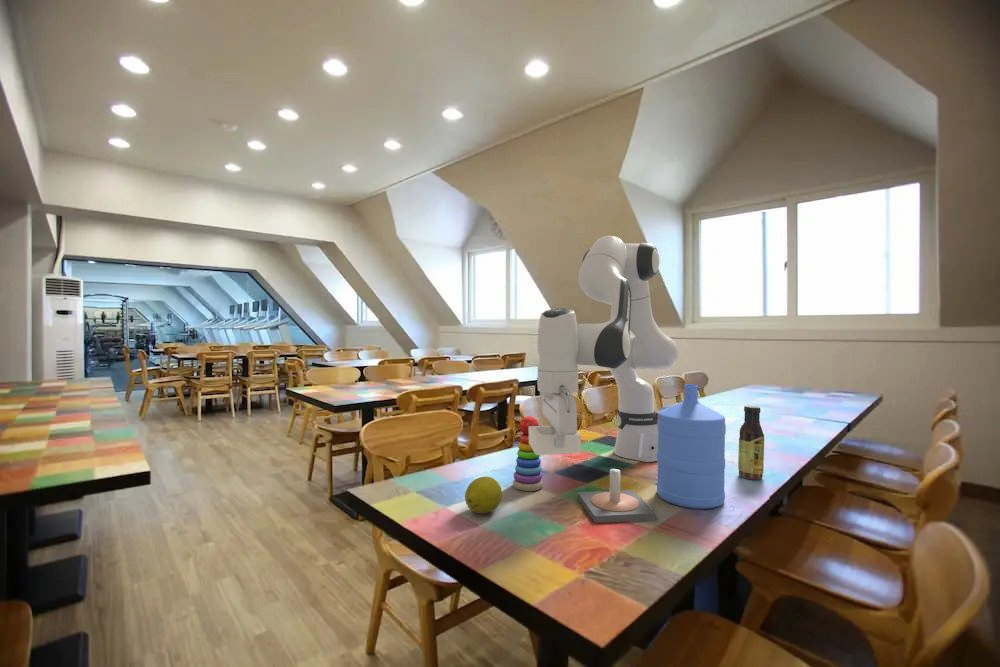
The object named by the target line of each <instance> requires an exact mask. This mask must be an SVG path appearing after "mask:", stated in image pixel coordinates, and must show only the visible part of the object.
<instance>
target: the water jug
mask: <svg viewBox="0 0 1000 667" xmlns="http://www.w3.org/2000/svg"><path fill="white" fill-rule="evenodd" d="M683 386H684V392H683V394H684V399H683V401H682V402H678V403H677V404H674V405H672V406H669V407H666V408H663V409H662V410H659V412H657V413H658V422H657V427H658V451H657V461H656V462H657V483H656V493H657V495H658V496H659V497H660V498H661V499H663V500H664V501H665V502H668V503H670V504H673V505H675V506H678V507H683V508H688V509H695V510H704V509H705V510H707V509H715V508H717V507H721V505H722V504H724V502H725V499H726V492H725V469H726V458H725V457H726V455H725V453H726V451H725V450H726V448H725V446H726V443H725V442H726V428H727V426H726V425H727V424H726V417H725V415H724V414H722V413H720V412H718V411H716V410H714V409H711V408H710V407H709V406H706V405H704V404H702V403H700V402H699V400H698V399H699V398H698V397H699V391H698V388H699V385H697V384H696V385H695V384H684V385H683Z"/></svg>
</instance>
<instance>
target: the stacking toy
mask: <svg viewBox="0 0 1000 667" xmlns="http://www.w3.org/2000/svg"><path fill="white" fill-rule="evenodd" d="M529 426H540V425H539V421H538V419H537V418H536V417H534V416H531V415H528V416H526V415H525V416H524V417H522V419H521V420H520V422H519V429H520V431H521V433H522V434H520V435H519V438H518V439H519V443H518V444H517V447H518V450H517V453H516V454H517V457H516V460H515V462H516V465H515V467H514V468H515V472H513V478H514V479H513V481H512V486H513V487H514V488H516V489H517V490H519V491H523V492H533V491H534V492H535V491H538V490H541V489H542V488H543V487H544V481H543V480H542V478H543V474H542V469H543V468H542V465H541V463H542V462H541V461H542V459H541V458H540V456H541V455H536V454H535V453H534V451H533V449H532V448H531V446H530V444H529Z"/></svg>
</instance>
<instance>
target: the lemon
mask: <svg viewBox="0 0 1000 667" xmlns="http://www.w3.org/2000/svg"><path fill="white" fill-rule="evenodd" d="M502 493H503V492H502V487H501V484H500V483H499V482H498V481H497V480H496V479H495V478H493V477H492V476H491V477H490V476H480V477H478V478H475V479H474V480H473V481H471V482H470V483H469V484H468V486H467V488H466V490H465V493H464V500H465V503H466V506H467V508H468V509H470V511H472V512H474V513H475V514H480V515H481V514H483V515H485V514H488V513H489V514H490V513H491V512H493V511H494V510H496V508H497V507H498V506H499V505H500V503H501V501H502V496H503V495H502Z"/></svg>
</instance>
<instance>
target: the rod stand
mask: <svg viewBox="0 0 1000 667" xmlns="http://www.w3.org/2000/svg"><path fill="white" fill-rule="evenodd" d="M577 499H578V501H579V500H580V501H579V503H580V504H581V503H582V504H581V505H582V506H584V507H585V508H584V507H583V508H584V509H585V511H586V510H587V511H586V512H587V514H588V515H589V517H590V518H591V520H592V519H593V520H592V521H593V522H594V523H595V524H596V523H597V524H600V523H601V522H602V523H617V522H619V523H621V522H643V521H656V520H657V512H656V511H655V510H654V509H653V508H652V507H651V506H649V505H648V503H647V502H645V501H644V500H643V499H642V497H640V496H639V495H638V493H636V492H635V491H634V490H633V489H624V490H623V489H622V490H621V470H620V469H618V468H610V469H609V490H602V491H601V490H600V491H578V492H577Z"/></svg>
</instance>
